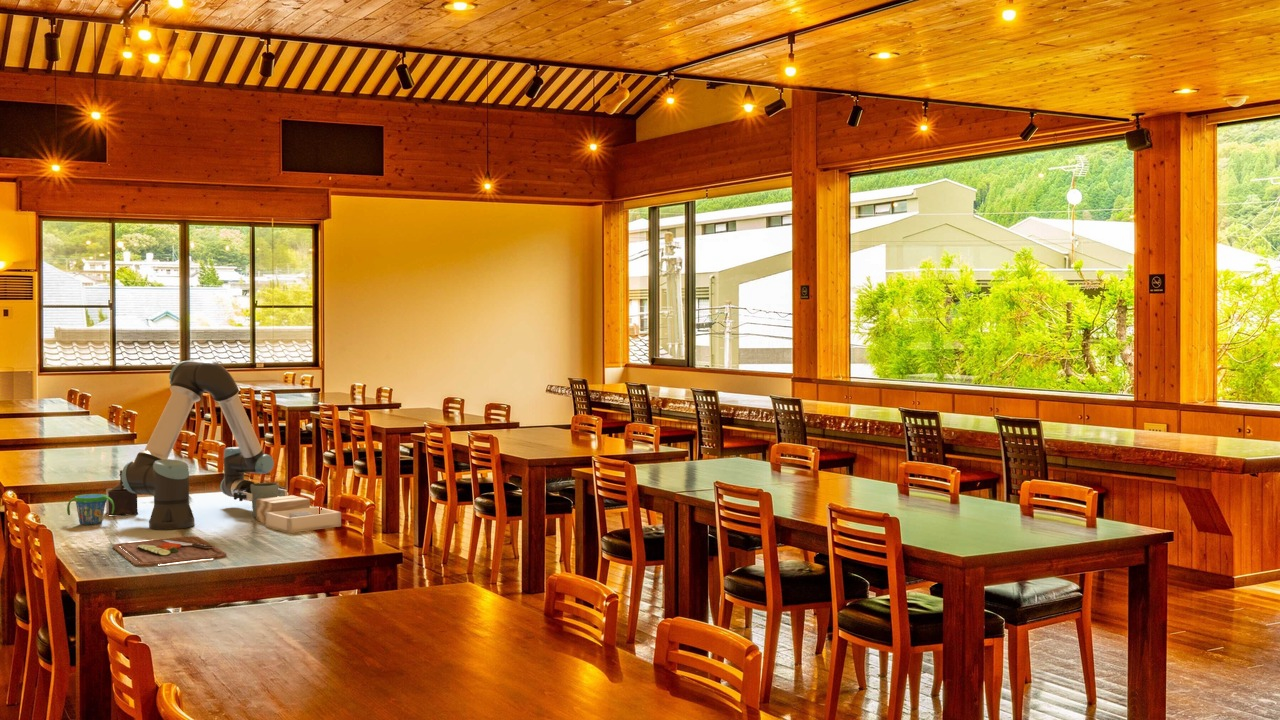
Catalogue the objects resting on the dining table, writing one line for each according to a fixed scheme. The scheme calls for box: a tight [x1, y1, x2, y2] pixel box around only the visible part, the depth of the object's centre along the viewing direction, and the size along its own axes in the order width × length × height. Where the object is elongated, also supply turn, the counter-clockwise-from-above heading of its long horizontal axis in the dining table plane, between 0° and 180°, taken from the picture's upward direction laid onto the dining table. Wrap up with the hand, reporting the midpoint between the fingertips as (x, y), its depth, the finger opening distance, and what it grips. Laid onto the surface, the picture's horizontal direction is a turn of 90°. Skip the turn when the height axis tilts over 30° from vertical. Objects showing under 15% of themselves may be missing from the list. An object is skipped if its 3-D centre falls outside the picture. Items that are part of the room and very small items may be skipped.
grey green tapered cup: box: [250, 482, 279, 518], centre depth 448 cm, size 10×10×12 cm
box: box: [265, 506, 342, 534], centre depth 424 cm, size 18×20×5 cm
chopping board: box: [112, 535, 227, 567], centre depth 378 cm, size 45×27×3 cm, turn 34°
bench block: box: [256, 494, 311, 524], centre depth 436 cm, size 14×14×8 cm
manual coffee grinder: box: [105, 469, 139, 516], centre depth 455 cm, size 16×11×18 cm
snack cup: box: [66, 493, 114, 526], centre depth 431 cm, size 16×10×10 cm
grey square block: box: [289, 512, 313, 518], centre depth 423 cm, size 6×6×4 cm
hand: (268, 495), depth 445 cm, fingers open, 13 cm apart
